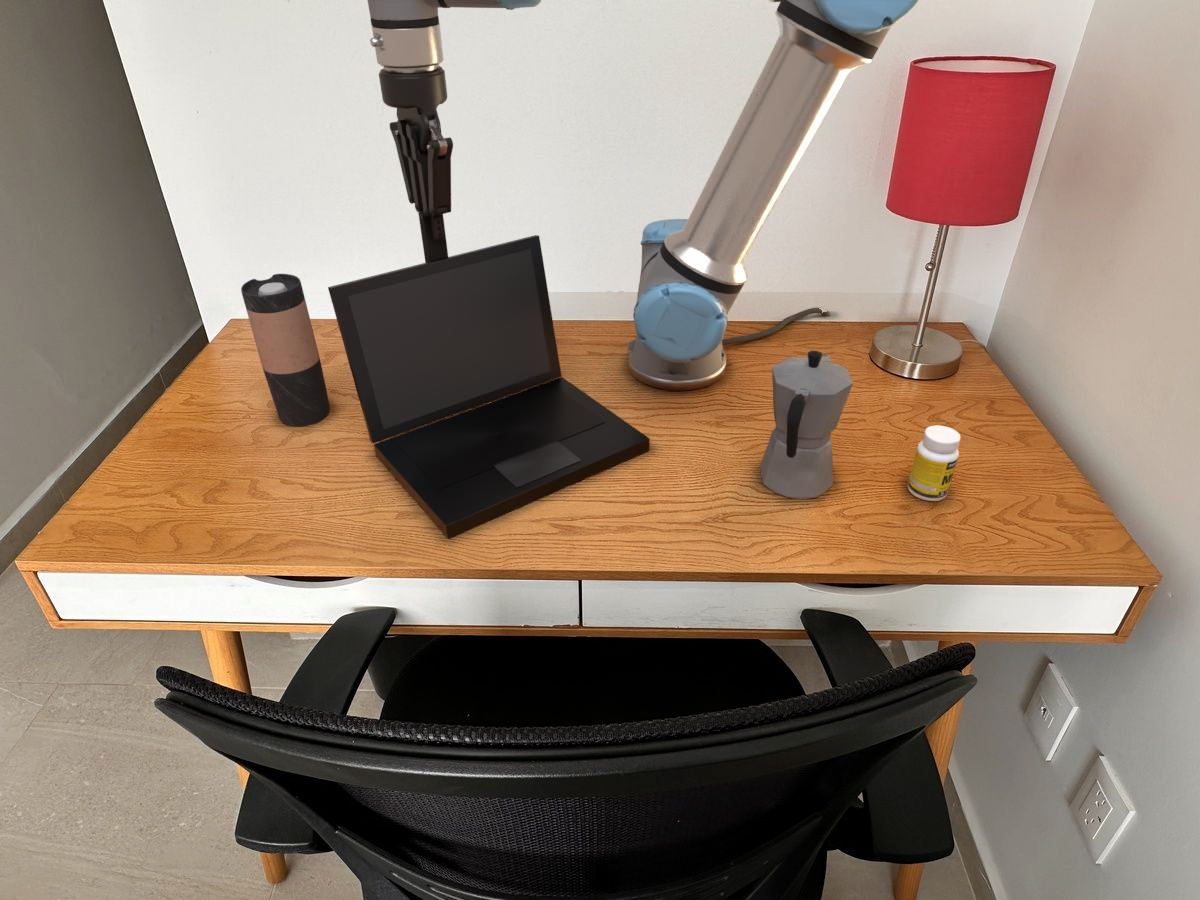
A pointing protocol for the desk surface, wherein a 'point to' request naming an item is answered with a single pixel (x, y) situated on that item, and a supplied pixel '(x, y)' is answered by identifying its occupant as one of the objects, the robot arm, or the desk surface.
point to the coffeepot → (804, 425)
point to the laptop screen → (447, 335)
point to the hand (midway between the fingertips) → (437, 262)
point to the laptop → (508, 454)
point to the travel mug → (287, 348)
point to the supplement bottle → (934, 463)
